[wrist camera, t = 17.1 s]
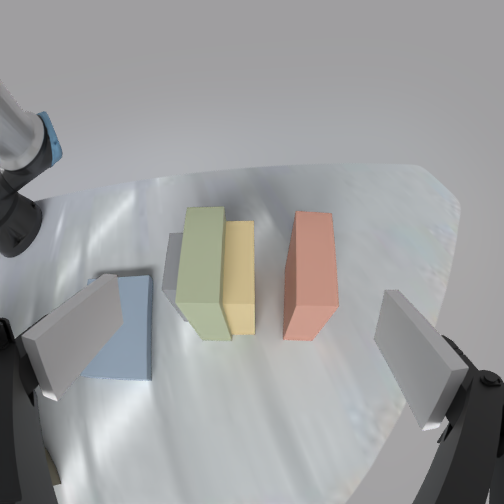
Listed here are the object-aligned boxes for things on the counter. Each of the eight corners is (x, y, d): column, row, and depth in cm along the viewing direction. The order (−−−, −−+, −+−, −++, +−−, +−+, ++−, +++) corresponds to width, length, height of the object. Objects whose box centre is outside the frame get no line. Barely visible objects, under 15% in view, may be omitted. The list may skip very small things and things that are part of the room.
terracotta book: (284, 269, 50) (295, 210, 36) (311, 270, 50) (331, 212, 36) (283, 339, 44) (296, 305, 30) (312, 340, 44) (338, 306, 30)
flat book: (93, 283, 49) (88, 278, 47) (153, 280, 49) (149, 274, 47) (86, 377, 40) (79, 375, 38) (151, 380, 41) (146, 379, 39)
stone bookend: (188, 275, 50) (169, 233, 38) (206, 275, 50) (191, 232, 38) (184, 321, 46) (161, 289, 34) (203, 321, 46) (185, 290, 34)
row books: (206, 269, 50) (187, 207, 35) (254, 269, 50) (253, 205, 35) (202, 340, 44) (175, 302, 29) (254, 340, 44) (254, 303, 29)
